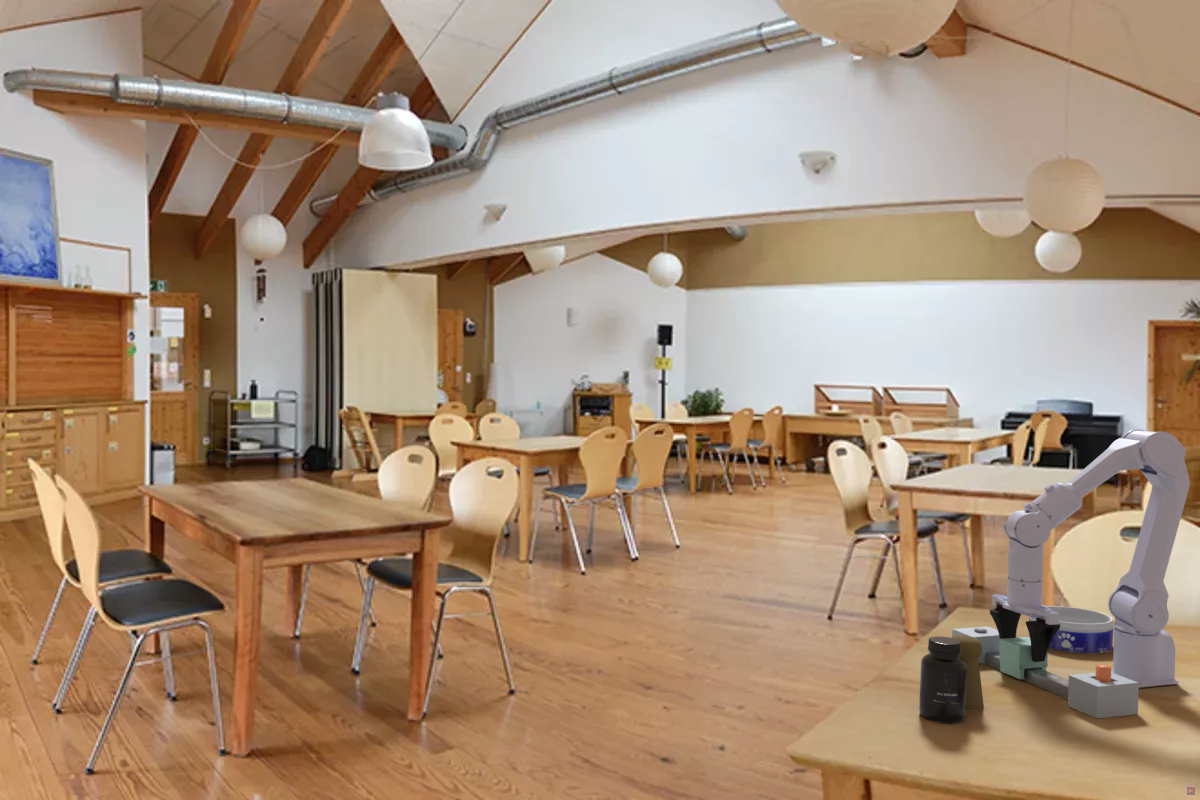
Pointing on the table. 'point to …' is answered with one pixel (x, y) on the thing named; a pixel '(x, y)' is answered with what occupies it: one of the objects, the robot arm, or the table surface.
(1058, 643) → the dog bowl
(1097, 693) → the end cabinet
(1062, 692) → the rail
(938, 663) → the supplement bottle
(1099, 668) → the orange rounded knob
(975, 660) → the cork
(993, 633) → the far cabinet
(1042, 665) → the block
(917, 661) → the table surface
